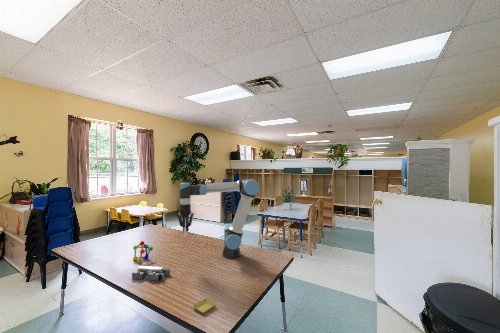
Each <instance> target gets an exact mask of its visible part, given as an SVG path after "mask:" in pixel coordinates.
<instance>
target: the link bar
mask: <svg viewBox="0 0 500 333" xmlns="http://www.w3.org/2000/svg"><path fill="white" fill-rule="evenodd" d="M163 268H164V266H150V265H140V266H138V267H137V268H136V270H137V271H140V272H145V278H144V279H148V274H149V273H150V272H152V273H153V272H156V273H162V274H163Z"/></svg>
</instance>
